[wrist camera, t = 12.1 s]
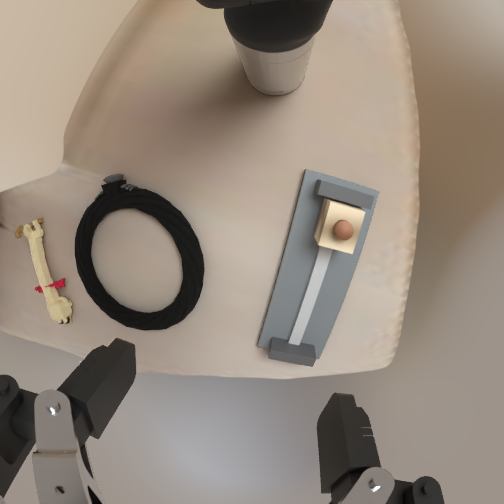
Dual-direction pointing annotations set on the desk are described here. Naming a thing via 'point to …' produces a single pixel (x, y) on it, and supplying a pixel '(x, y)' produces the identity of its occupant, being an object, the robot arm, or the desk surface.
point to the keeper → (338, 226)
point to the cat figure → (46, 274)
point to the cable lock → (174, 221)
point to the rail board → (312, 273)
